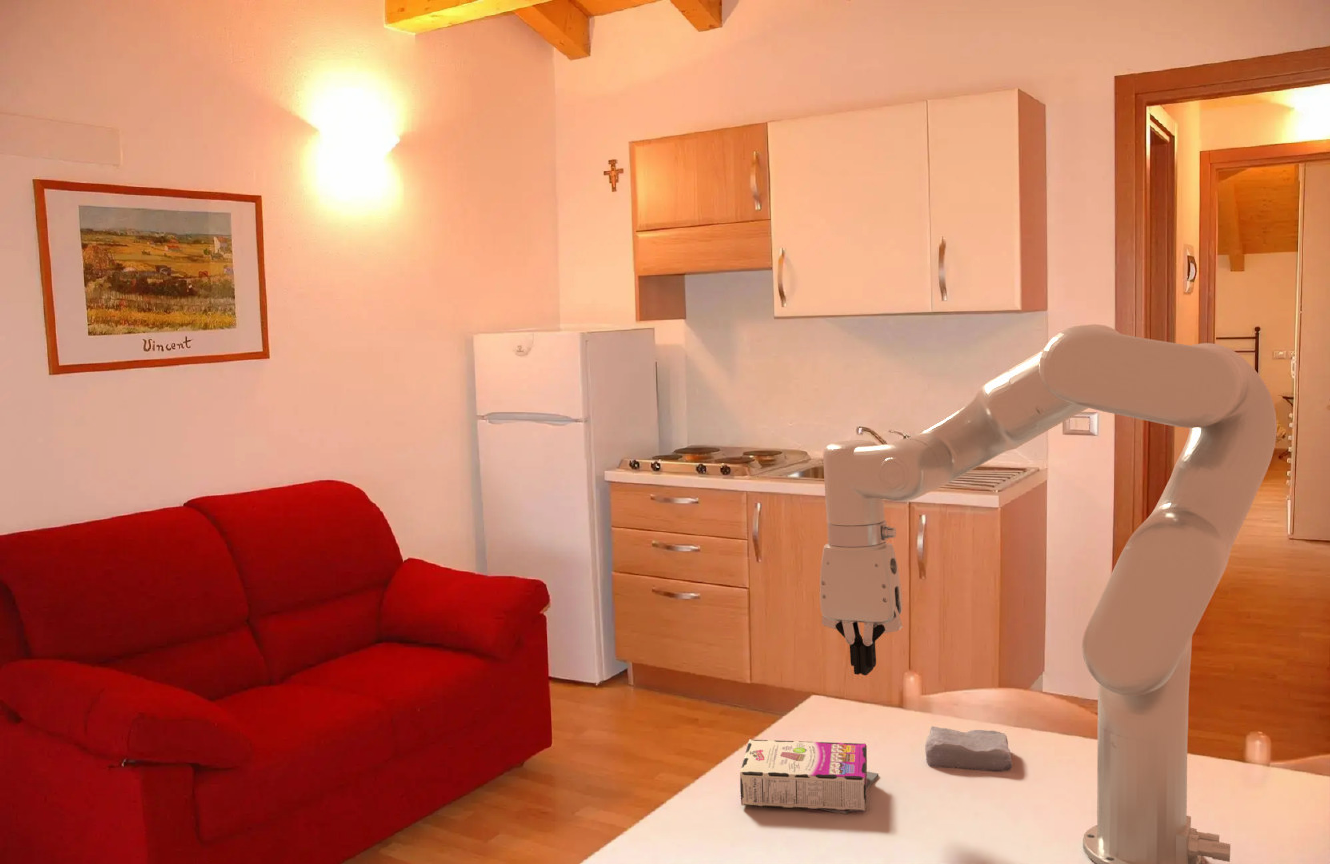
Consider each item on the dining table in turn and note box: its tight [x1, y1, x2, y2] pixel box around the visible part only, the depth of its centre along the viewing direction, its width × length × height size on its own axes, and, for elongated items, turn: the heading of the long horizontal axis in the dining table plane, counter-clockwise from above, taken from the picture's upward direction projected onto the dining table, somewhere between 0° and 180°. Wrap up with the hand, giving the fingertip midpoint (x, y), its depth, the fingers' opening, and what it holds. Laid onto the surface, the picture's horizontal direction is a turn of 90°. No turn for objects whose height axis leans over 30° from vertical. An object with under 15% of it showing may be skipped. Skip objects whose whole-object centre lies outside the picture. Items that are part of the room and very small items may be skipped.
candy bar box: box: [739, 738, 868, 812], centre depth 145 cm, size 11×5×16 cm
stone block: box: [924, 726, 1013, 772], centre depth 156 cm, size 12×5×10 cm
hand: (863, 671), depth 142 cm, fingers closed
